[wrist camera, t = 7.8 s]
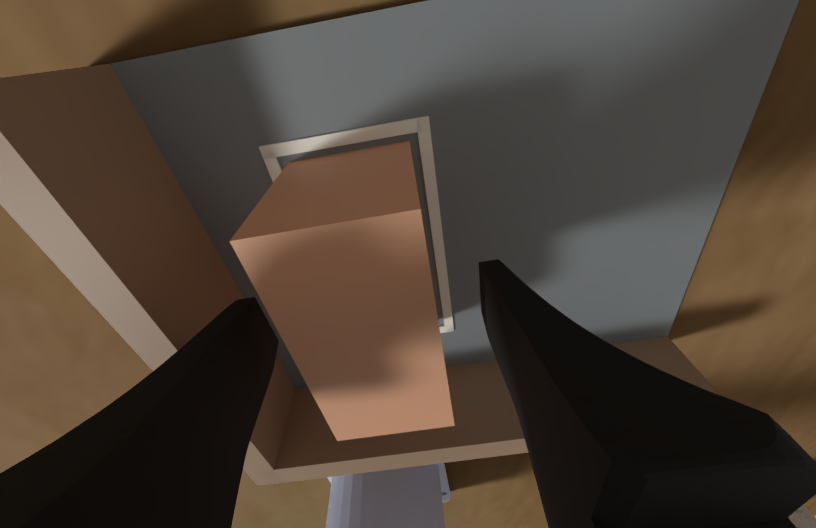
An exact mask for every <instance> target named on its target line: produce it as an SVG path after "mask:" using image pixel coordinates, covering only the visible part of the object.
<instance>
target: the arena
mask: <svg viewBox="0 0 816 528" xmlns="http://www.w3.org/2000/svg"><path fill="white" fill-rule="evenodd" d="M798 2H799V0H427V1H422V2H417V3H412V4H407V5H402V6H397V7H392V8H387V9H382V10H377V11H372V12H367V13H362V14H357V15H352V16H347V17H342V18H337V19H332V20H327V21H322V22H317V23H312V24H307V25H302V26H297V27H292V28H287V29H282V30H277V31H272V32H267V33H262V34H257V35H251V36H246V37H241V38H236V39H231V40H226V41H221V42H216V43H211V44H206V45H201V46H196V47H191V48H186V49H181V50H176V51H171V52H166V53H161V54H156V55H151V56H146V57H141V58H136V59H131V60H126V61H121V62H116V63H111V64H104V65H96V66H88V67H81V68H73V69H66V70H58V71H51V72H43V73H36V74H28V75H21V76H13V77H6V78H0V204H1V205H2V207H3V208H4V209H5V210H6V211H7V212H8V213H9V214H10V215H11V216H12V217H13V219H14V220H15V221H16V222H17V223H18V224H19V225H20V226H21V227H22V228H23V229H24V231H25V232H26V233H27V234H28V235H29V236H30V237H31V238H32V239H33V240H34V242H35V243H36V244H37V245H38V246H39V247H40V248H41V249H42V250H43V251H44V252H45V254H46V255H47V256H48V257H49V258H50V259H51V260H52V261H53V262H54V263H55V264H56V266H57V267H58V268H59V269H60V270H61V271H62V272H63V273H64V274H65V275H66V276H67V278H68V279H69V280H70V281H71V282H72V283H73V284H74V285H75V286H76V287H77V288H78V290H79V291H80V292H81V293H82V294H83V295H84V296H85V297H86V298H87V299H88V301H89V302H90V303H91V304H92V305H93V306H94V307H95V308H96V309H97V310H98V311H99V313H100V314H101V315H102V316H103V317H104V318H105V319H106V320H107V321H108V322H109V323H110V325H111V326H112V327H113V328H114V329H115V330H116V331H117V332H118V333H119V334H120V335H121V337H122V338H123V339H124V340H125V341H126V342H127V343H128V344H129V345H130V346H131V347H132V349H133V350H134V351H135V352H136V353H137V354H138V355H139V356H140V357H141V358H142V360H143V361H144V362H145V363H146V364H147V365H148V366H149V367H150V368H151V369H152V370H153V371H154V370H155V369H157V368H158V367H159V366H160V365H161V364H163V363H164V362H165V361H166V360H167V359H169V358H170V357H171V356H172V355H173V354H175V353H176V352H177V351H178V350H179V349H180V348H182V347H183V346H184V345H185V344H186V343H187V342H188V341H189V340H191V339H192V338H193V337H194V336H195V335H196V334H197V333H198V332H200V331H201V330H202V329H203V328H204V327H205V326H206V325H207V324H209V323H210V322H211V321H212V320H213V319H214V318H215V317H216V316H218V315H219V314H220V313H221V312H222V311H223V310H224V309H226V308H227V307H228V306H229V305H230V304H232V303H233V302H234V301H236V300H238V299H245V298H251V297H255V298H256V300H257V302H258V304H259V306H260V307H261V309H262V311H263V313H264V315H265V317H266V318H267V320H268V322H269V324H270V326H271V328H272V330H273V331H274V333H275V335H276V337H277V339H278V348H277V354H276V359H275V364H274V369H273V373H272V376H271V379H270V382H269V385H268V388H267V391H266V394H265V397H264V400H263V403H262V406H261V409H260V412H259V415H258V418H257V421H256V424H255V427H254V430H253V433H252V436H251V439H250V442H249V446H248V449H247V453H246V457H245V462H244V466H243V470H244V471H245V472H246V473H247V474H248V475H249V476H250V478H251V479H252V480H253V481H254V482H255V483H256V484H257V485H258V486H260V485H268V484H276V483H285V482H293V481H301V480H309V479H317V478H325V477H333V476H342V475H350V474H358V473H366V472H374V471H382V470H390V469H399V468H407V467H415V466H423V465H431V464H439V463H447V462H456V461H464V460H472V459H480V458H488V457H496V456H504V455H513V454H521V453H528V449H527V446H526V442H525V439H524V435H523V432H522V428H521V425H520V421H519V418H518V415H517V412H516V409H515V406H514V403H513V400H512V398H511V395H510V393H509V390H508V388H507V385H506V383H505V380H504V378H503V375H502V373H501V370H500V368H499V365H498V362H497V360H496V357H495V355H494V352H493V350H492V347H491V344H490V342H489V339H488V336H487V332H486V328H485V324H484V320H483V316H482V312H481V299H480V280H479V262H483V261H490V260H496V259H499V260H500V261H501V262H503V263H504V264H505V265H506V266H507V267H508V268H509V269H510V270H511V271H512V272H513V273H514V274H515V275H516V276H517V277H519V278H520V279H521V280H522V281H523V282H524V283H525V284H526V285H528V286H529V287H530V288H531V289H532V290H533V291H535V292H536V293H537V294H538V295H539V296H541V297H542V298H543V299H544V300H546V301H547V302H548V303H549V304H551V305H552V306H553V307H555V308H556V309H557V310H559V311H560V312H561V313H563V314H564V315H565V316H567V317H568V318H570V319H571V320H572V321H574V322H575V323H577V324H578V325H580V326H581V327H583V328H585V329H586V330H588V331H589V332H591V333H593V334H594V335H596V336H598V337H599V338H601V339H602V340H604V341H606V342H608V343H609V344H611V345H613V346H615V347H617V348H618V349H620V350H622V351H624V352H626V353H628V354H630V355H632V356H634V357H636V358H637V359H639V360H641V361H643V362H645V363H647V364H649V365H651V366H654V367H656V368H658V369H660V370H662V371H664V372H666V373H668V374H671V375H673V376H675V377H677V378H680V379H682V380H684V381H686V382H689V383H691V384H693V385H695V386H698V387H700V388H702V389H705V390H707V391H710V392H712V393H715V394H718V395H719V393H718V392H717V391H716V390H715V389H714V388H713V387H712V386H711V385H710V383H709V382H708V381H707V380H706V379H705V378H704V377H703V376H702V374H701V373H700V372H699V371H698V370H697V369H696V368H695V367H694V366H693V364H692V363H691V362H690V361H689V360H688V359H687V358H686V357H685V355H684V354H683V353H682V352H681V351H680V350H679V349H678V348H677V346H676V345H675V344H674V343H673V342H672V341H671V340H670V339H669V338H668V335H669V332H670V330H671V327H672V324H673V322H674V319H675V317H676V314H677V312H678V309H679V307H680V304H681V301H682V299H683V296H684V294H685V291H686V289H687V286H688V284H689V281H690V278H691V276H692V273H693V271H694V268H695V266H696V263H697V261H698V258H699V255H700V253H701V250H702V248H703V245H704V243H705V240H706V238H707V235H708V232H709V230H710V227H711V225H712V222H713V220H714V217H715V215H716V212H717V209H718V207H719V204H720V202H721V199H722V197H723V194H724V192H725V189H726V186H727V184H728V181H729V179H730V176H731V174H732V171H733V169H734V166H735V163H736V161H737V158H738V156H739V153H740V151H741V148H742V146H743V143H744V140H745V138H746V135H747V133H748V130H749V128H750V125H751V123H752V120H753V117H754V115H755V112H756V110H757V107H758V105H759V102H760V100H761V97H762V94H763V92H764V89H765V87H766V84H767V82H768V79H769V77H770V74H771V71H772V69H773V66H774V64H775V61H776V59H777V56H778V54H779V51H780V48H781V46H782V43H783V41H784V38H785V36H786V33H787V31H788V28H789V25H790V23H791V20H792V18H793V15H794V13H795V10H796V8H797V5H798ZM405 141H409V142H410V148H411V154H412V160H413V166H414V172H415V178H416V184H417V190H418V196H419V202H420V208H421V214H422V220H423V227H424V233H425V239H426V246H427V252H428V259H429V265H430V271H431V278H432V284H433V290H434V297H435V303H436V310H437V316H438V322H439V329H440V335H441V341H442V348H443V354H444V360H445V367H446V373H447V380H448V386H449V392H450V399H451V405H452V411H453V418H454V424H455V426H449V427H441V428H434V429H426V430H418V431H411V432H403V433H395V434H388V435H380V436H373V437H365V438H357V439H350V440H342V441H337V440H336V438H335V436H334V434H333V432H332V430H331V429H330V427H329V425H328V423H327V421H326V419H325V417H324V416H323V414H322V412H321V410H320V408H319V406H318V404H317V403H316V401H315V399H314V397H313V395H312V393H311V391H310V390H309V388H308V386H307V384H306V382H305V380H304V378H303V377H302V375H301V373H300V371H299V369H298V367H297V366H296V364H295V362H294V360H293V358H292V356H291V354H290V353H289V351H288V349H287V347H286V345H285V343H284V341H283V340H282V338H281V336H280V334H279V332H278V330H277V328H276V327H275V325H274V323H273V321H272V319H271V317H270V315H269V314H268V312H267V310H266V308H265V306H264V304H263V303H262V301H261V299H260V297H259V295H258V293H257V291H256V290H255V288H254V286H253V284H252V282H251V280H250V278H249V277H248V275H247V273H246V271H245V269H244V267H243V265H242V264H241V262H240V260H239V258H238V256H237V254H236V252H235V251H234V249H233V247H232V245H231V243H230V240H231V238H232V237H233V236H234V234H235V233H236V232H237V230H238V229H239V228H240V226H241V225H242V224H243V222H244V221H245V220H246V218H247V217H248V216H249V214H250V213H251V212H252V210H253V209H254V208H255V206H256V205H257V204H258V202H259V201H260V200H261V198H262V197H263V196H264V194H265V193H266V192H267V190H268V189H269V188H270V186H271V185H272V184H273V182H274V181H275V180H276V178H277V177H278V176H279V174H280V173H281V172H282V170H283V169H284V168H285V166H286V165H287V164H288V162H294V161H299V160H305V159H311V158H316V157H322V156H327V155H333V154H338V153H344V152H349V151H355V150H360V149H366V148H372V147H377V146H383V145H388V144H394V143H399V142H405Z"/></svg>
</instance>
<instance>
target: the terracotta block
mask: <svg viewBox="0 0 816 528" xmlns="http://www.w3.org/2000/svg"><path fill="white" fill-rule="evenodd" d="M230 243H231V245H232V247H233V249H234V251H235V252H236V254H237V256H238V258H239V260H240V262H241V264H242V265H243V267H244V269H245V271H246V273H247V275H248V277H249V278H250V280H251V282H252V284H253V286H254V288H255V290H256V291H257V293H258V295H259V297H260V299H261V301H262V303H263V304H264V306H265V308H266V310H267V312H268V314H269V315H270V317H271V319H272V321H273V323H274V325H275V327H276V328H277V330H278V332H279V334H280V336H281V338H282V340H283V341H284V343H285V345H286V347H287V349H288V351H289V353H290V354H291V356H292V358H293V360H294V362H295V364H296V366H297V367H298V369H299V371H300V373H301V375H302V377H303V378H304V380H305V382H306V384H307V386H308V388H309V390H310V391H311V393H312V395H313V397H314V399H315V401H316V403H317V404H318V406H319V408H320V410H321V412H322V414H323V416H324V417H325V419H326V421H327V423H328V425H329V427H330V429H331V430H332V432H333V434H334V436H335V438H336V440H337V441H342V440H350V439H357V438H365V437H373V436H380V435H388V434H395V433H403V432H411V431H418V430H426V429H434V428H441V427H449V426H455V424H454V418H453V411H452V405H451V399H450V392H449V386H448V380H447V373H446V367H445V360H444V354H443V348H442V341H441V335H440V329H439V322H438V316H437V310H436V303H435V297H434V290H433V284H432V278H431V271H430V265H429V259H428V252H427V246H426V239H425V233H424V227H423V220H422V214H421V208H420V202H419V196H418V190H417V184H416V178H415V172H414V166H413V160H412V154H411V148H410V142H409V141H405V142H399V143H394V144H388V145H383V146H377V147H372V148H366V149H360V150H355V151H349V152H344V153H338V154H333V155H327V156H322V157H316V158H311V159H305V160H299V161H294V162H288V164H287V165H286V166H285V168H284V169H283V170H282V172H281V173H280V174H279V176H278V177H277V178H276V180H275V181H274V182H273V184H272V185H271V186H270V188H269V189H268V190H267V192H266V193H265V194H264V196H263V197H262V198H261V200H260V201H259V202H258V204H257V205H256V206H255V208H254V209H253V210H252V212H251V213H250V214H249V216H248V217H247V218H246V220H245V221H244V222H243V224H242V225H241V226H240V228H239V229H238V230H237V232H236V233H235V234H234V236H233V237H232V238H231V240H230Z"/></svg>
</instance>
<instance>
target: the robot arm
mask: <svg viewBox="0 0 816 528" xmlns="http://www.w3.org/2000/svg"><path fill="white" fill-rule="evenodd" d="M479 280H480V299H481V312H482V316H483V320H484V324H485V328H486V332H487V336H488V339H489V342H490V344H491V347H492V350H493V352H494V355H495V357H496V360H497V362H498V365H499V368H500V370H501V373H502V375H503V378H504V380H505V383H506V385H507V388H508V390H509V393H510V395H511V398H512V400H513V403H514V406H515V409H516V412H517V415H518V418H519V421H520V425H521V428H522V432H523V435H524V439H525V442H526V446H527V449H528V453H529V456H530V460H531V464H532V467H533V471H534V474H535V478H536V482H537V485H538V489H539V493H540V497H541V500H542V504H543V508H544V512H545V516H546V519H547V523H548V527H549V528H796V527H795V525H794V524H793V523H792V522H791V520H790V519H789V518H788V517H789V516H790V515H791V514H793V513H794V512H795V511H796V510H797V509H798V508H800V507H801V506H802V505H803V504H804V503H805V502H807V501H808V500H809V499H810V498H811V497H813V496H814V495H815V493H816V462H815V461H814V460H813V459H812V458H811V457H810V456H809V455H808V454H807V453H806V452H805V451H804V450H803V448H802V447H801V446H800V445H799V444H798V443H797V442H796V441H795V440H794V439H793V438H792V437H791V436H790V435H789V434H788V433H787V432H786V431H785V430H784V429H783V428H782V427H781V426H780V425H779V424H778V423H777V422H775V421H774V420H773V419H772V418H771V417H770V416H769V415H768V414H766V413H764V412H761V411H759V410H756V409H754V408H751V407H748V406H746V405H743V404H741V403H738V402H736V401H733V400H730V399H728V398H725V397H723V396H720V395H718V394H715V393H712V392H710V391H707V390H705V389H702V388H700V387H698V386H695V385H693V384H691V383H689V382H686V381H684V380H682V379H680V378H677V377H675V376H673V375H671V374H668V373H666V372H664V371H662V370H660V369H658V368H656V367H654V366H651V365H649V364H647V363H645V362H643V361H641V360H639V359H637V358H636V357H634V356H632V355H630V354H628V353H626V352H624V351H622V350H620V349H618V348H617V347H615V346H613V345H611V344H609V343H608V342H606V341H604V340H602V339H601V338H599V337H598V336H596V335H594V334H593V333H591V332H589V331H588V330H586V329H585V328H583V327H581V326H580V325H578V324H577V323H575V322H574V321H572V320H571V319H570V318H568V317H567V316H565V315H564V314H563V313H561V312H560V311H559V310H557V309H556V308H555V307H553V306H552V305H551V304H549V303H548V302H547V301H546V300H544V299H543V298H542V297H541V296H539V295H538V294H537V293H536V292H535V291H533V290H532V289H531V288H530V287H529V286H528V285H526V284H525V283H524V282H523V281H522V280H521V279H520V278H519V277H517V276H516V275H515V274H514V273H513V272H512V271H511V270H510V269H509V268H508V267H507V266H506V265H505V264H504V263H503V262H501V261H500V260H499V259H496V260H490V261H483V262H479ZM277 348H278V339H277V337H276V335H275V333H274V331H273V330H272V328H271V326H270V324H269V322H268V320H267V318H266V317H265V315H264V313H263V311H262V309H261V307H260V306H259V304H258V302H257V300H256V298H255V297H251V298H245V299H238V300H236V301H234V302H233V303H232V304H230V305H229V306H228V307H227V308H226V309H224V310H223V311H222V312H221V313H220V314H219V315H218V316H216V317H215V318H214V319H213V320H212V321H211V322H210V323H209V324H207V325H206V326H205V327H204V328H203V329H202V330H201V331H200V332H198V333H197V334H196V335H195V336H194V337H193V338H192V339H191V340H189V341H188V342H187V343H186V344H185V345H184V346H183V347H182V348H180V349H179V350H178V351H177V352H176V353H175V354H173V355H172V356H171V357H170V358H169V359H167V360H166V361H165V362H164V363H163V364H161V365H160V366H159V367H158V368H157V369H155V370H154V371H153V372H152V373H151V374H149V375H148V376H147V377H146V378H144V379H143V380H142V381H141V382H139V383H138V384H137V385H135V386H134V387H133V388H132V389H130V390H129V391H128V392H126V393H125V394H123V395H122V396H121V397H119V398H118V399H117V400H115V401H114V402H112V403H111V404H110V405H108V406H107V407H106V408H104V409H103V410H101V411H100V412H98V413H97V414H95V415H94V416H92V417H91V418H89V419H88V420H86V421H85V422H83V423H82V424H80V425H79V426H77V427H76V428H74V429H73V430H71V431H69V432H68V433H66V434H65V435H63V436H62V437H60V438H59V439H57V440H56V441H54V442H52V443H51V444H49V445H48V446H46V447H44V448H43V449H41V450H39V451H38V452H36V453H34V454H33V455H31V456H29V457H28V458H26V459H24V460H23V461H21V462H19V463H17V464H16V465H14V466H12V467H11V468H9V469H7V470H5V471H4V472H2V473H0V528H231V525H232V519H233V514H234V509H235V504H236V499H237V494H238V489H239V484H240V479H241V475H242V471H243V466H244V462H245V457H246V453H247V449H248V446H249V442H250V439H251V436H252V433H253V430H254V427H255V424H256V421H257V418H258V415H259V412H260V409H261V406H262V403H263V400H264V397H265V394H266V391H267V388H268V385H269V382H270V379H271V376H272V373H273V369H274V364H275V359H276V354H277ZM327 478H328V480H329V481H330V483H331V491H330V499H329V507H328V514H327V522H326V528H445V521H444V511H443V502H447V501H449V500H450V499H451V493H450V489H449V484H448V479H447V474H446V469H445V464H444V463H439V464H431V465H423V466H415V467H407V468H399V469H390V470H382V471H374V472H366V473H358V474H350V475H342V476H333V477H327Z"/></svg>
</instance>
